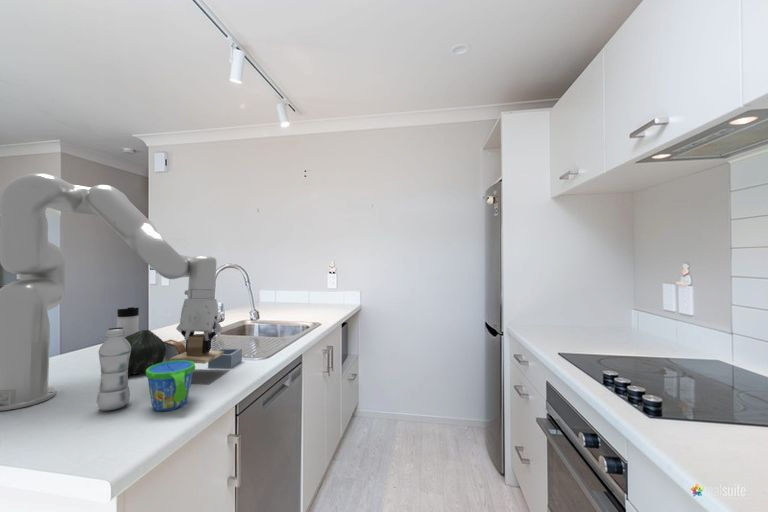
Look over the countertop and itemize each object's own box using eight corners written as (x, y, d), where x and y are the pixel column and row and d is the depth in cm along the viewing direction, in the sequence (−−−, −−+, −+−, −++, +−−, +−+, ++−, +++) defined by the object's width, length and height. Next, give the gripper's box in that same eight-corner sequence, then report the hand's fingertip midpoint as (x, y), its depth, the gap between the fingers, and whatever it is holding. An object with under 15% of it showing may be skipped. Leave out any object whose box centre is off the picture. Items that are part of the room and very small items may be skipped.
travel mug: (118, 365, 114) (120, 308, 115) (113, 361, 118) (115, 306, 119) (140, 361, 119) (141, 306, 120) (134, 357, 123) (135, 305, 124)
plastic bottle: (102, 416, 77) (105, 332, 77) (92, 409, 80) (94, 328, 81) (134, 406, 82) (136, 327, 83) (123, 400, 86) (125, 324, 86)
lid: (205, 363, 97) (206, 340, 98) (169, 362, 97) (170, 338, 98) (223, 353, 108) (225, 332, 109) (191, 352, 108) (192, 331, 109)
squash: (109, 353, 110) (112, 324, 103) (162, 347, 120) (168, 321, 113) (107, 390, 102) (110, 362, 95) (164, 381, 111) (171, 355, 104)
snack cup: (200, 410, 81) (201, 369, 81) (149, 424, 74) (150, 379, 74) (186, 391, 92) (187, 355, 93) (141, 401, 85) (142, 362, 85)
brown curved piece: (188, 367, 113) (188, 343, 113) (178, 370, 110) (179, 345, 110) (167, 360, 121) (167, 337, 121) (157, 362, 118) (158, 339, 118)
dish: (231, 369, 111) (231, 355, 111) (208, 369, 111) (208, 354, 111) (241, 362, 119) (241, 348, 119) (220, 362, 119) (220, 348, 119)
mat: (208, 385, 96) (209, 384, 97) (165, 385, 97) (166, 383, 97) (230, 371, 110) (230, 370, 110) (192, 370, 110) (192, 369, 110)
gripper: (167, 294, 100) (163, 354, 99) (221, 296, 100) (218, 356, 99) (182, 292, 107) (179, 348, 107) (233, 294, 107) (230, 350, 107)
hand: (198, 351), depth 103 cm, fingers closed on lid, 4 cm apart
